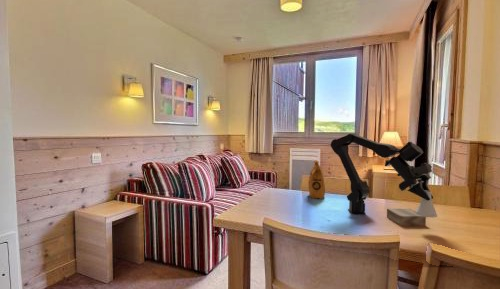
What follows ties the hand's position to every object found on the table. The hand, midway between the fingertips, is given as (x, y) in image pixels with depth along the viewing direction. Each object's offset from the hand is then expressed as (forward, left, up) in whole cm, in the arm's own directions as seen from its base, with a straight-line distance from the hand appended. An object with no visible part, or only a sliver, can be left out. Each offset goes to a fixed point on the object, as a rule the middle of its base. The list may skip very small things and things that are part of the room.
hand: (430, 199), depth 104 cm
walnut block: (-2, +13, -13) cm, 19 cm away
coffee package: (-31, +56, -14) cm, 66 cm away
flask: (-1, +1, -7) cm, 7 cm away
